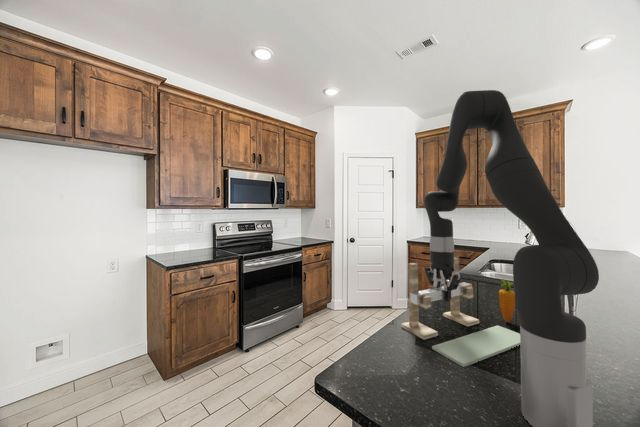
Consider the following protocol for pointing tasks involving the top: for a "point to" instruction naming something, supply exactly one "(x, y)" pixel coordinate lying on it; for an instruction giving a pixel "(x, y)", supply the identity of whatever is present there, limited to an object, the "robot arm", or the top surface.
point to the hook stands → (413, 322)
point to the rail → (437, 293)
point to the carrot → (507, 301)
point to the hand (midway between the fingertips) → (442, 299)
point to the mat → (478, 345)
